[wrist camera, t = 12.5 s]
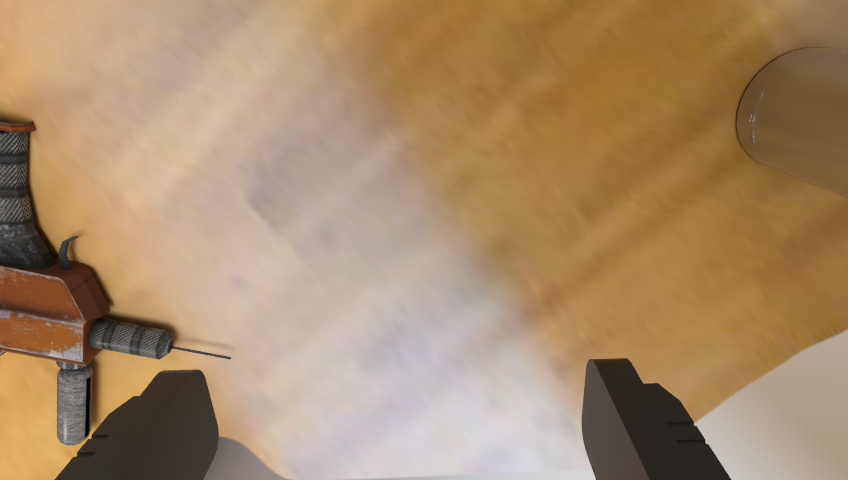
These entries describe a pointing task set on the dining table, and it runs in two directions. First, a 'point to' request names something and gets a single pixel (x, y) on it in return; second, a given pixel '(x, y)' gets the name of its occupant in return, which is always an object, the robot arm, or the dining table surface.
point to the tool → (56, 300)
